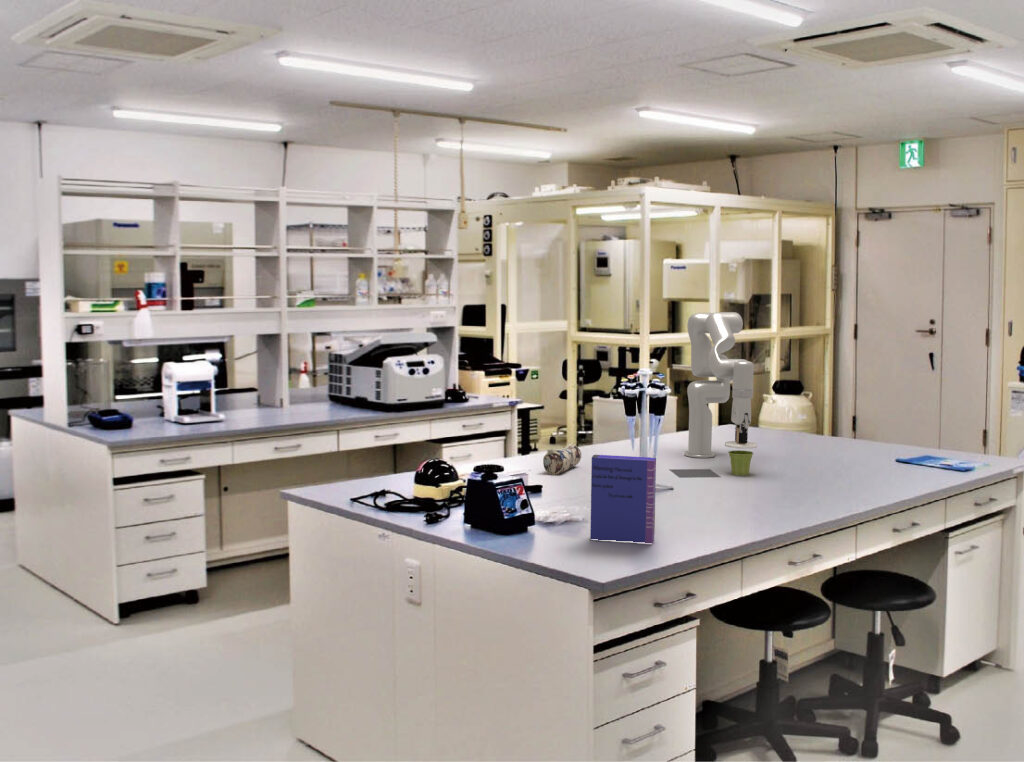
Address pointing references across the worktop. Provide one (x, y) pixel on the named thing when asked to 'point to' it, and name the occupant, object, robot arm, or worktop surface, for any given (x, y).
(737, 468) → the plant pot
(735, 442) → the lid
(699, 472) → the mat
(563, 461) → the pencil case
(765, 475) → the worktop surface
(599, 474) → the blue hardcover book
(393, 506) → the worktop surface
